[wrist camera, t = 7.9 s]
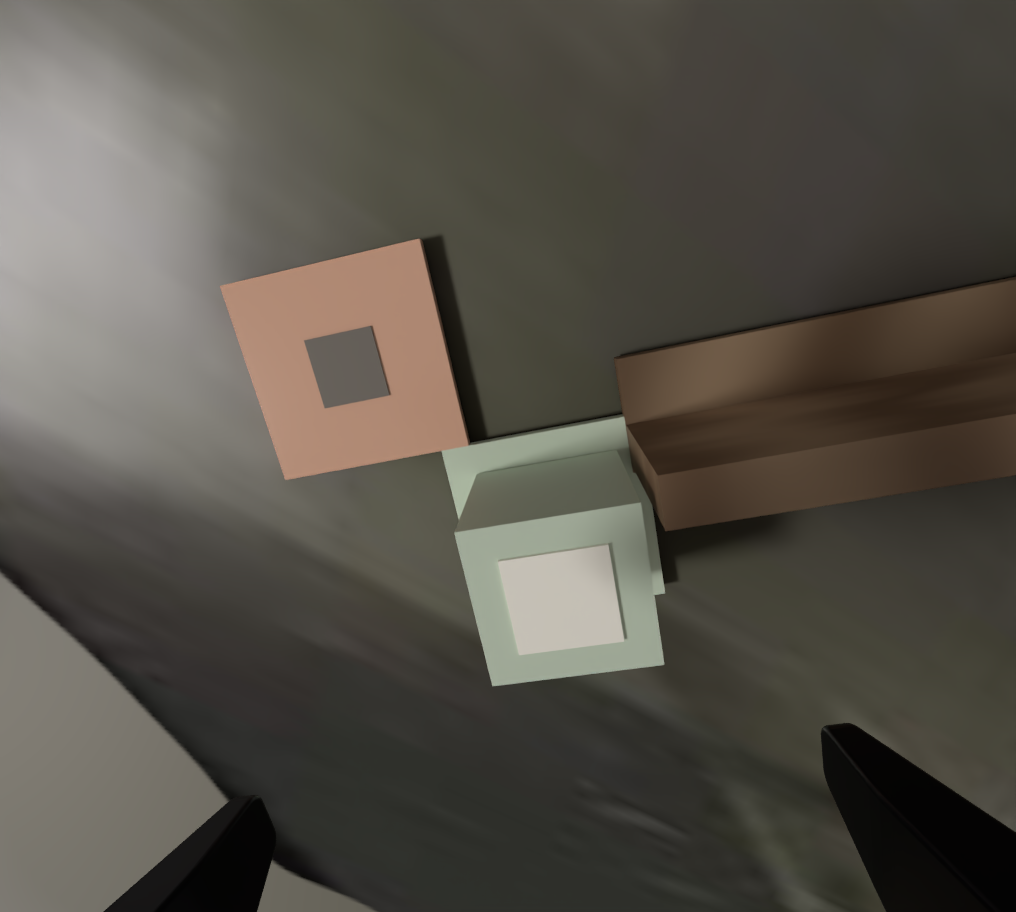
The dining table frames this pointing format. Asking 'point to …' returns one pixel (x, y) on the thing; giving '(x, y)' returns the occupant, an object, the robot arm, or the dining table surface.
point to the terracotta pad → (349, 360)
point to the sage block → (559, 570)
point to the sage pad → (549, 448)
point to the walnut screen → (826, 408)
